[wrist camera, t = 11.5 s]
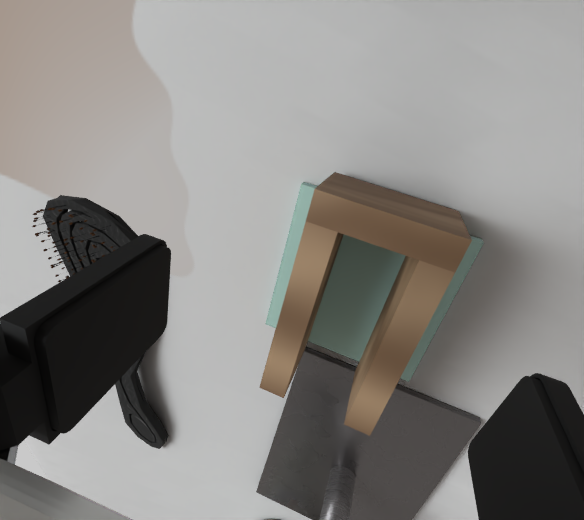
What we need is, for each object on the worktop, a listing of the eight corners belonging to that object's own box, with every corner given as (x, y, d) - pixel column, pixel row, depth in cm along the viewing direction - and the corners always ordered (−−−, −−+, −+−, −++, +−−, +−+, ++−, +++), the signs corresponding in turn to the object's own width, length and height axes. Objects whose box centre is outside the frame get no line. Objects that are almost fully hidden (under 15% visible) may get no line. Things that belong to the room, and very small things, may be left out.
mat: (304, 181, 20) (301, 183, 20) (481, 239, 19) (483, 243, 18) (268, 319, 25) (265, 324, 24) (408, 375, 23) (408, 381, 23)
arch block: (334, 172, 19) (314, 188, 15) (458, 211, 18) (472, 240, 14) (284, 342, 24) (259, 387, 20) (377, 380, 23) (369, 435, 19)
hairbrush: (105, 456, 34) (-1, 200, 23) (132, 424, 37) (49, 186, 26) (181, 478, 31) (102, 204, 21) (202, 442, 35) (143, 188, 24)
